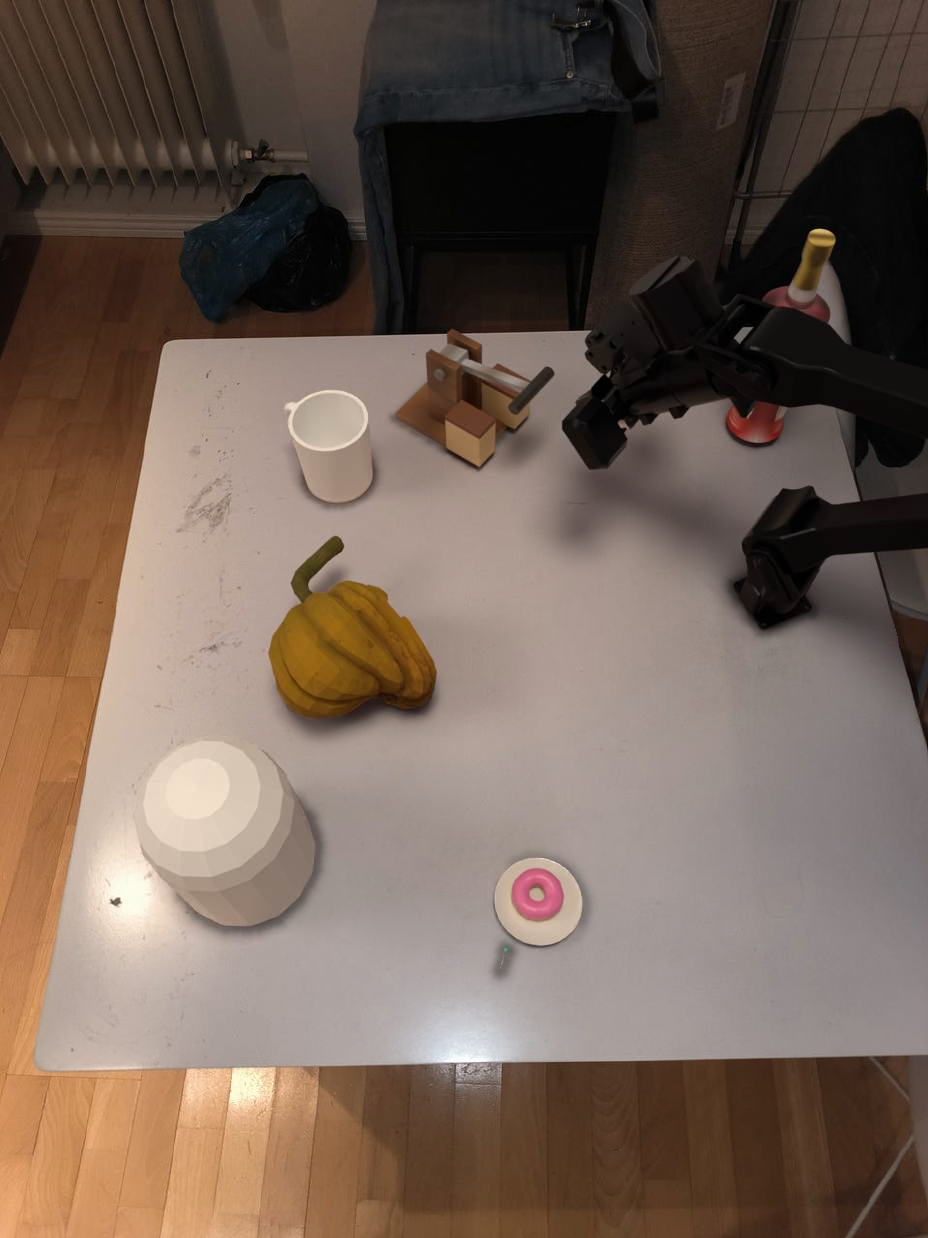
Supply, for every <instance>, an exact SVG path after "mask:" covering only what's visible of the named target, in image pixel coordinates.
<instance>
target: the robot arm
mask: <svg viewBox="0 0 928 1238" xmlns="http://www.w3.org/2000/svg"><path fill="white" fill-rule="evenodd" d="M628 294H629V296H630V298H631V300H632V301H633V303H634V305H635V306H636V308H637V309H636V308H635V306H633V304H631V303H630V302H629V301H627V300H620V301H618V302H617V303H616V304H615V305H614V306H613V307H612V308H611V309H610V310H609V311H608V312H607V313H606V314H605V315H604V317H602V319H600V320H599V322H598V323H597V324H596V325H595V326H594V328H593V329H591V330H590V332H589V333H588V334H587V335H586V337H585V339H584V343H585V346H586V348H587V349H586V351H584V357H585V360H587V362H588V363H590V365H592V367H594V369H596V370H597V371H598V373H599V374H601V376H600V377H599V378H598V379H597V380H596V381H595V383H593V385H592V386H591V387H590V389H589V390H587V391H586V392H585V393H583V394H581V395H580V396H579V397H578V398H577V399H576V400H575V402H574V403H575V406H574V407H573V408H572V409H571V410H570V411H569V412H568V414H566V416H565V417H564V418H563V419H562V420H561V431H563V433H564V435H565V436H566V438H567V439H568V441H569V442H570V444H571V445H572V447H573V448H574V449H575V452H576V453H577V454H578V456H579V457H580V459H581V460H582V462H583V463H584V465H585V466H586V468H587V469H588V471H594V472H595V471H602V470H608V469H609V468H610V466H611V465H612V464H613V463H614V462H615V461H616V460H617V458H618V457H619V456H621V454H622V452H623V451H624V450H625V449H626V447H627V444H628V440H629V438H628V436H627V435H626V432H627V431H631V430H632V429H633V428H634V427H635V425H637V424H638V422H639V421H640V422H641V424H642V426H644V427H645V426H649V425H652V424H653V422H654V421H655V420H656V419H657V417H658V416H659V415H660V414H666V413H669V414H670V415H671V417H672V419H673V420H676V419H677V420H679V419H682V418H683V417H684V416H685V415H686V414H687V412H689V410H690V409H691V408H692V407H697V406H702V405H705V404H706V405H707V404H712V403H715V402H721V401H725V400H730V402H731V404H732V406H733V405H734V407H735V409H736V410H737V412H738V414H739V416H740V417H741V418H746V417H747V416H748V415H749V414H750V412H751V411H752V410H753V409H754V407H755V406H756V405H757V404H758V402H762V403H767V404H772V405H777V406H782V407H787V409H794V408H801V407H802V408H803V407H809V406H815V405H816V406H817V405H819V406H825V407H830V408H835V409H837V410H840V411H844V412H846V413H850V414H852V415H854V416H858V417H861V418H863V419H867V420H869V421H873V422H875V423H879V424H882V425H885V426H888V427H891V428H894V429H896V430H899V431H902V432H905V433H907V434H908V433H909V434H911V435H914V436H917V437H920V438H923V439H926V440H928V369H925V368H922V367H919V366H916V365H912V364H910V363H906V362H903V361H899V360H896V359H893V358H890V357H886V356H883V355H879V354H877V353H873V352H870V351H867V350H864V349H860V348H858V347H856V346H853V345H852V344H849V343H847V342H846V341H845V340H844V339H843V338H842V337H841V335H840V334H839V333H838V332H837V331H836V330H835V329H834V327H833V326H832V325H830V324H829V322H828V323H826V322H823V321H821V320H819V319H817V318H815V317H813V316H810V315H808V314H806V313H804V312H802V311H800V310H797V309H795V308H791V307H785V306H780V307H778V306H775V305H772V304H769V303H766V302H763V301H762V300H760V299H757V298H754V297H751V296H748V295H745V294H742V293H737V294H736V295H735V296H734V297H733V299H732V300H731V301H730V302H729V303H728V304H724V305H722V304H721V302H720V300H719V298H718V296H717V294H716V292H715V291H714V289H713V287H712V285H711V284H710V281H709V279H708V277H707V273H706V271H705V268H704V266H703V265H702V263H701V262H700V260H699V259H697V258H695V259H694V258H693V259H692V260H690V258H689V257H688V256H680V255H676V256H673V257H671V258H669V259H667V260H664V261H663V262H661V263H659V264H658V265H656V266H655V267H653V268H651V269H650V270H649V271H647V272H646V273H645V274H643V276H641V277H640V278H638V280H636V281H635V282H634V283H633V285H632V286H631V287H630V289H629V291H628ZM748 323H749V324H750V325H751V326H753V327H752V328H751V329H750V330H749V332H748V333H747V334H746V335H745V336H744V337H743V339H742V340H741V341H740V342H739V341H738V340H737V339H736V337H737V335H738V334H739V333H740V332H741V331H742V329H744V327H745V326H746V324H748ZM608 374H609V376H608ZM740 545H741V551H742V553H743V555H744V557H745V565H746V572H747V576H745V577H743V578H740V579H738V580H735V581H734V582H733V584H732V588H733V589H734V591H735V593H736V594H737V596H738V599H739V601H740V603H741V604H742V605H743V607H744V609H745V610H746V611H747V613H748V615H750V616H751V617H752V618H753V620H754V621H755V622H756V624H757V626H758V627H759V629H761V630H763V631H766V630H769V629H771V628H773V627H776V626H779V625H780V624H781V625H782V624H783V623H786V622H788V621H791V620H793V619H795V618H798V617H800V616H803V615H805V614H808V613H810V612H812V610H813V605H812V603H811V602H810V600H809V599H808V598H807V596H806V595H807V594H808V592H809V591H810V589H811V587H812V585H813V584H814V582H815V580H816V578H817V576H818V575H819V573H820V571H821V568H822V566H823V564H824V563H825V562H826V560H827V559H829V558H830V557H834V556H842V555H844V556H845V555H858V554H869V553H871V554H872V553H883V552H884V553H885V552H886V553H887V552H896V551H911V550H925V549H928V492H922V493H921V492H920V493H915V494H907V495H899V496H898V495H897V496H890V497H882V498H873V499H867V500H866V499H865V500H859V501H858V500H857V501H851V502H843V503H842V502H841V503H830V502H829V501H828V500H826V499H824V498H822V497H821V496H819V495H818V494H817V492H816V489H815V487H814V486H813V485H806V486H803V487H800V488H786V487H782V488H781V489H780V491H779V492H778V493H777V494H776V495H775V496H773V497H772V499H771V500H770V501H769V503H768V504H767V505H766V507H765V509H764V510H763V511H762V512H761V514H760V515H759V516H758V517H757V519H756V521H755V522H754V523H753V525H752V526H751V527H750V529H749V530H748V531H747V533H746V534H745V535H744V537H743V538H742V541H741V544H740Z"/></svg>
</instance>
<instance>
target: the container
mask: <svg viewBox="0 0 928 1238" xmlns="http://www.w3.org/2000/svg"><path fill="white" fill-rule="evenodd" d="M132 817H133V821H134V825H135V826H134V827H135V831H136V835H137V839H138V844H139V849H140V853H141V855H142V857H143V858H144V859H145V860H146V861H147V862H148V864H149V865H150V866H151V868H152V869H153V871H154V872H155V873H156V875H157V876H158V877H159V878H160V879H161V880H162V881H163V882H164V883H166V884H167V885H168V886H169V888H171V889H172V890H173V891H174V892H175V893H176V894H177V895H179V897H180V898H181V899H182V900H184V901H185V902H186V903H187V904H188V905H189V906H190V907H192V909H193V910H195V911H196V912H197V913H198V914H199V915H201V916H203V917H205V918H207V919H209V920H211V921H213V922H215V923H216V924H219V925H221V926H223V927H225V926H226V927H253V926H256V925H259V924H261V923H264V922H267V921H270V920H272V919H275V918H277V917H279V916H280V915H281V914H283V913H284V912H285V911H286V910H287V909H289V907H291V905H293V904H294V903H295V902H296V901H297V900H298V899H299V898H301V896H302V894H303V892H304V890H305V888H306V886H307V884H308V883H309V881H310V879H311V877H312V875H313V873H314V865H315V857H316V847H317V845H316V842H315V837H314V836H313V835H314V834H313V832H312V828H311V825H310V822H309V820H308V817H307V816H306V813H305V811H304V809H303V807H302V805H301V802H300V801H299V798H298V797H297V795H296V792H295V791H294V789H293V786H292V784H291V782H290V780H289V778H288V775H287V773H286V772H285V770H283V768H282V767H281V766H280V764H278V763H277V762H276V761H275V759H274V758H272V756H271V754H269V753H268V752H267V751H265V750H264V749H263V748H261V747H260V746H257V745H256V744H253V743H251V742H248V741H246V740H245V739H242V738H240V737H237V736H235V735H213V734H211V735H209V734H208V735H207V734H206V735H202V736H200V737H196V738H193V739H191V740H188V741H185V742H183V743H182V742H181V743H179V744H178V745H176V746H175V747H174V748H172V749H171V750H169V751H168V752H166V754H165V755H163V756H162V757H161V758H159V759H158V760H157V761H156V762H154V764H153V765H152V767H151V768H150V769H149V771H148V773H147V775H146V776H145V778H144V779H143V781H141V784H140V785H139V787H138V791H137V795H136V800H135V805H134V810H133V815H132Z"/></svg>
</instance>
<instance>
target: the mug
mask: <svg viewBox="0 0 928 1238" xmlns="http://www.w3.org/2000/svg"><path fill="white" fill-rule="evenodd" d="M283 416H284V420H285V422H286V424H287V427H288V430H289V433H290V436H291V439H292V442H293V446H294V449H295V452H296V455H297V458H298V461H299V463H300V468H301V470H302V474H303V476H304V479H305V483H306V485H307V488H308V490H309V491H310V493H311V494H312V495H313V496H314V497H316V498H317V499H319V500H320V501H323V502H325V503H329V504H337V505H338V504H346V503H349V502H352V501H355V500H357V499H358V498H360V497H362V496H363V495H364V494H365V493H366V492H367V491H368V490H369V488H370V487H371V485H372V482H373V479H374V472H373V471H374V469H373V460H372V459H373V458H372V457H373V456H372V447H371V444H372V443H371V435H370V434H371V433H370V422H369V421H370V420H369V412H368V410H367V408H366V404H364V403H363V402H362V401H361V399H360V398H358V397H357V396H356V395H354V394H352V393H350V392H346V391H344V390H337V389H326V390H320V391H316V392H312V393H310V394H309V395H308V394H307V396H304V397H303V398H302V399H301V400H299V401H298V402H296V401H290V402H287V403H285V405H284V407H283Z"/></svg>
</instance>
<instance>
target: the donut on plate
mask: <svg viewBox="0 0 928 1238" xmlns="http://www.w3.org/2000/svg"><path fill="white" fill-rule="evenodd" d="M494 889H495V890H494V897H493V900H494V901H493V902H494V909H495V913H496V915H497V918H498V920H499V922H500V924H501V925H502V927H503V928H504V929H505V930H506V931H507V933H509V934H510V935H511V936H513V938H514V939H517V940H518V941H520V942H522V943H525V944H528V945H532V946H549V945H553V944H556V943H560V942H561V941H563V940H565V939H566V938H567V937H568V936H569V935H570V934H572V933H573V931H574V930H575V929H576V927H577V926H578V924H579V923H580V919H581V917H582V913H583V895H582V891H581V888H580V886H579V883H578V882H577V880H576V878H575V877H574V876H573V874H571V872H570V871H569V870H568V869H567V868H566V867H564V866H563V865H562V864H560V863H558V862H556V861H555V860H551V859H548V858H545V857H527V858H524V859H521V860H518V861H516V862H514V863H513V864H511V865H509V867H507V868H506V869H505V870H504V872H503V873H502V874H501V875H500V877H499V879H498V881H497V883H496V886H495V888H494ZM503 950H504V952H508V951H509V949H508V947H504V949H503ZM504 958H505V955H503V958H502V961H501V964H503V961H504ZM498 969H500V970H501V967H499V968H498Z"/></svg>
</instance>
